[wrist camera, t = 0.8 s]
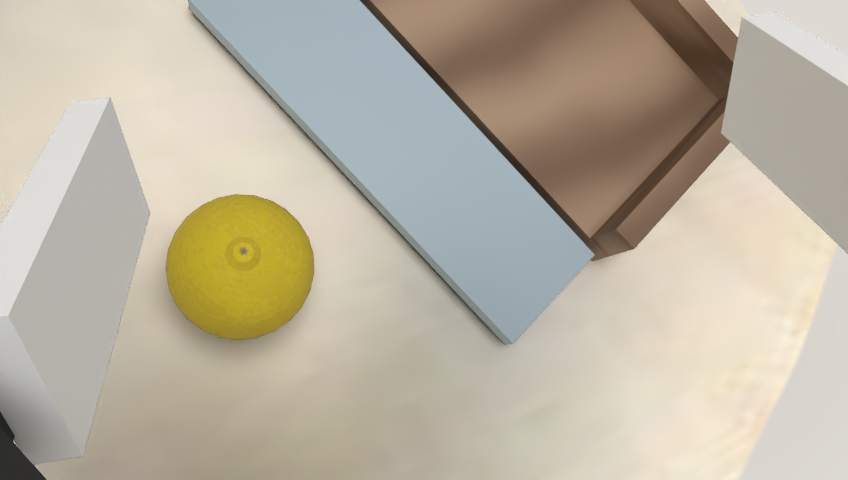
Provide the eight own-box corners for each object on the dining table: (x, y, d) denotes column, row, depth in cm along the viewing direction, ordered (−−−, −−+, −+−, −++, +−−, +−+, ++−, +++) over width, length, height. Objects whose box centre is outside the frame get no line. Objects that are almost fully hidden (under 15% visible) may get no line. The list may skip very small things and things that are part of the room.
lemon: (329, 272, 34) (358, 245, 26) (245, 368, 32) (250, 369, 24) (235, 191, 33) (236, 139, 25) (145, 285, 32) (118, 258, 24)
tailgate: (287, -64, 35) (188, 8, 33) (289, -76, 34) (187, -2, 32) (585, 257, 36) (505, 344, 35) (594, 254, 35) (512, 343, 34)
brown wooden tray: (285, -71, 36) (292, -124, 32) (453, -194, 39) (477, -255, 35) (592, 261, 37) (634, 248, 33) (728, 112, 40) (780, 86, 37)
